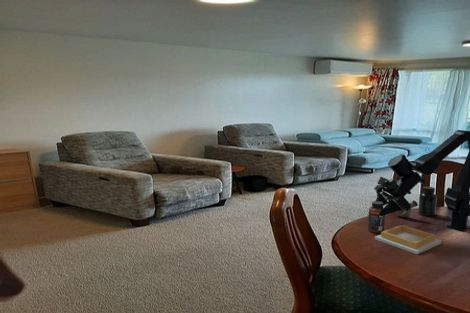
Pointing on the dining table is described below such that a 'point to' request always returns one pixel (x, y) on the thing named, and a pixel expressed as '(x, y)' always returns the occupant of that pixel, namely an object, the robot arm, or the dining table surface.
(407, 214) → the oil lamp
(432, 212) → the supplement bottle
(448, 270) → the dining table surface
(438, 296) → the dining table surface
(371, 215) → the supplement bottle
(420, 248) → the plate
